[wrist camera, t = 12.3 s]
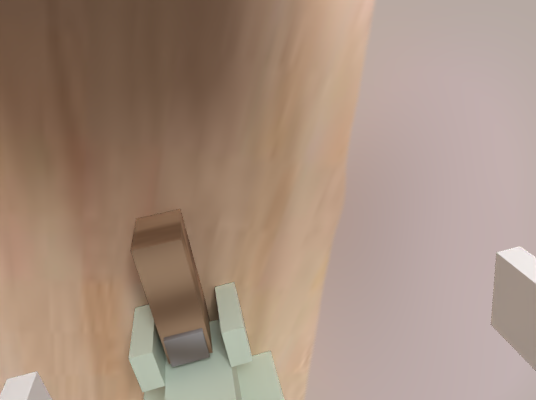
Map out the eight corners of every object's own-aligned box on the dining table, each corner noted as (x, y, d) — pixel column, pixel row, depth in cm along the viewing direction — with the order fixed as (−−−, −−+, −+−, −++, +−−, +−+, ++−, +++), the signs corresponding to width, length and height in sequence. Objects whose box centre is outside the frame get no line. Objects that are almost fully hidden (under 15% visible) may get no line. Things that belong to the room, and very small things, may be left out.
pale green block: (114, 313, 44) (90, 438, 31) (253, 276, 45) (284, 382, 32) (149, 399, 49) (141, 536, 36) (273, 364, 50) (307, 484, 38)
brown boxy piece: (136, 218, 40) (130, 254, 35) (180, 208, 41) (181, 242, 35) (169, 321, 46) (168, 368, 40) (208, 311, 46) (213, 356, 40)
